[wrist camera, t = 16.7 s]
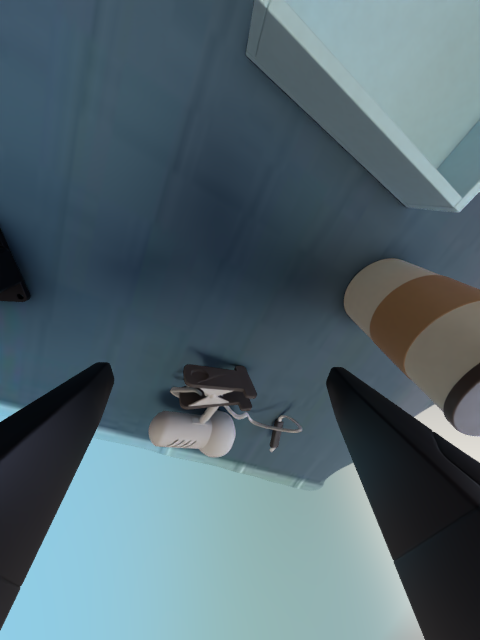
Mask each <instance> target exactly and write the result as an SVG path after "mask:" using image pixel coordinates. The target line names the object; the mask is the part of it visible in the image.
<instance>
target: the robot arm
mask: <svg viewBox="0 0 480 640" xmlns="http://www.w3.org/2000/svg"><path fill="white" fill-rule="evenodd" d="M21 295H23V296H21ZM30 297H31V296H30V293H29V291H28V289H27V287H26V284H25V282H24V280H23V278H22V276H21V273H20V271H19V269H18V267H17V265H16V262H15V260H14V258H13V256H12V253H11V251H10V249H9V247H8V245H7V242H6V240H5V238H4V236H3V233H2V231H1V229H0V301H15V302H25V301H27V300H29V299H30ZM113 384H114V376H113V372H112V369H111V366H110V364H109V363H107V362H98V363H95V364H93V365H92V366H90V367H89V368H87V369H85V370H84V371H82V372H80V373H79V374H77V375H76V376H74V377H72V378H71V379H69V380H68V381H66V382H64V383H63V384H61V385H59V386H58V387H56V388H55V389H53V390H51V391H50V392H48V393H47V394H45V395H43V396H42V397H40V398H38V399H37V400H35V401H34V402H32V403H30V404H29V405H27V406H26V407H24V408H22V409H21V410H19V411H17V412H16V413H14V414H13V415H11V416H9V417H8V418H6V419H5V420H3V421H1V422H0V630H1V628H2V626H3V624H4V622H5V619H6V618H7V615H8V613H9V611H10V609H11V607H12V605H13V603H14V601H15V599H16V596H17V594H18V592H19V590H20V586H21V585H22V584H23V582H24V579H25V577H26V575H27V573H28V571H29V569H30V567H31V565H32V563H33V561H34V559H35V557H36V554H37V552H38V550H39V548H40V546H41V544H42V542H43V540H44V538H45V536H46V534H47V531H48V529H49V527H50V525H51V523H52V521H53V519H54V517H55V515H56V513H57V510H58V508H59V506H60V504H61V502H62V500H63V498H64V496H65V494H66V492H67V490H68V488H69V485H70V483H71V481H72V479H73V477H74V475H75V473H76V471H77V469H78V467H79V465H80V463H81V461H82V459H83V456H84V454H85V452H86V450H87V448H88V446H89V444H90V442H91V440H92V438H93V436H94V433H95V431H96V429H97V427H98V425H99V423H100V420H101V418H102V415H103V412H104V410H105V407H106V404H107V401H108V398H109V395H110V393H111V390H112V387H113ZM326 386H327V389H328V393H329V396H330V400H331V403H332V407H333V410H334V414H335V417H336V420H337V423H338V425H339V428H340V430H341V433H342V435H343V438H344V440H345V443H346V445H347V448H348V450H349V453H350V455H351V457H352V460H353V462H354V465H355V467H356V470H357V472H358V475H359V477H360V480H361V482H362V484H363V487H364V490H365V492H366V494H367V497H368V499H369V502H370V504H371V507H372V509H373V512H374V514H375V517H376V519H377V522H378V524H379V527H380V529H381V531H382V534H383V537H384V539H385V541H386V544H387V546H388V549H389V551H390V554H391V556H392V559H393V560H394V564H395V567H396V569H397V571H398V574H399V577H400V579H401V581H402V584H403V586H404V589H405V591H406V594H407V596H408V599H409V601H410V604H411V606H412V609H413V611H414V613H415V616H416V619H417V621H418V623H419V626H420V628H421V631H422V633H423V636H424V638H425V640H480V463H479V462H478V461H476V460H475V459H473V458H471V457H470V456H469V455H467V454H465V453H464V452H462V451H461V450H460V449H458V448H457V447H455V446H454V445H452V444H451V443H449V442H448V441H446V440H445V439H444V438H442V437H441V436H439V435H438V434H437V433H435V432H432V430H431V429H429V428H428V427H427V426H425V425H424V424H422V423H421V422H420V421H418V420H417V419H415V418H414V417H412V416H411V415H410V414H408V413H407V412H405V411H404V410H402V409H401V408H400V407H398V406H397V405H395V404H394V403H393V402H391V401H390V400H388V399H387V398H385V397H384V396H383V395H381V394H380V393H378V392H377V391H376V390H374V389H373V388H371V387H370V386H368V385H367V384H366V383H364V382H363V381H361V380H360V379H359V378H357V377H356V376H354V375H353V374H351V373H350V372H349V371H347V370H346V369H344V368H342V367H333V368H332V369H331V371H330V373H329V376H328V378H327V381H326Z"/></svg>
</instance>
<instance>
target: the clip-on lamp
mask: <svg viewBox="0 0 480 640" xmlns="http://www.w3.org/2000/svg"><path fill="white" fill-rule="evenodd" d="M183 374H184V382H185V384H186V385H187V386H184V387H172V389H171V390H170V392H171V393H172V394H173V395H175V396H176V397H178V398H179V402H180V406H181V408H183V409H187V410H188V409H198V408H207V409H206V410H205V412H204V413H203V414H202V415H196V414H188V413H179V412H171V411H163V412H160V413H159V414H157V415H156V416H155V417H154V418H153V420H152V422H151V424H150V426H149V437H150V440H151V442H152V443H153V444H154V445H155V446H159V447H177V448H194V449H200V451H201V452H202V453H204V454H205V455H207V456H209V457H221V456H223V455H225V454H226V453H228V452H229V450H230V449H231V447H232V444H233V442H234V439H235V435H236V433H235V427H234V422H233V420H232V418H231V417H230V415H228V414H227V413H225V412H222V411H218V410H217V409H218V408H219V406H224V407H225V408H226V409H227V410H228V412H229V413H230V414H231V415H232V416H233V417H235V418H236V419H243V418H245V417H248V419H249V420H250V421H251V422H252V423H253V424H255V425H258V426H261V427H264V428H268V429H272V430H273V433H272V437H271V442H270V447H271V449H270V451H271V452H273V450H274V449H275V448H277V447H278V445H279V440H280V436H281V431H283V432H293V433H297V432H301V431H302V427H301V425H300V424H299V423H298V422H297V421H295V420H294V419H293V418H291V417H289V416H284V415H281V416H280V417H279V418H278V421H275V423H274V426H269V425H265V424H262V423H259V422H256V421H254V420H252V419H251V418H250V416H249V414H248V413H247V412H245V413H243V414H241V415H238V414H236V413H234V412H233V411H232V410H231V408H230V407H229V405H239V408H240V410H241V411H250V410H251V408H252V404H251V402H250V399H254V398H256V396H257V393H256V390H255V388H254V386H253V384H252V381H251V379H250V377H249V375H248V372H247V370H246V368H245V367H243V366H236V367H235V369H234V370H228V369H220V368H213V367H206V366H198V365H191V364H189V365H186V366H185V367H184V370H183ZM284 417H286V418H288V419H290V420H292V421H293V422H294V423H295V424H296V425H297V426H298V427H299V429H295V430H294V429H285V428H282V427H283V422H282V421H281V420H282V418H284Z"/></svg>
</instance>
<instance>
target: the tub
mask: <svg viewBox="0 0 480 640" xmlns="http://www.w3.org/2000/svg"><path fill="white" fill-rule="evenodd" d="M246 56H247V57H248V58H249V59H250V60H251V61H252V62H253V63H255V64H256V65H257V66H258V67H259V68H260V69H261V70H262V71H263V72H264V73H265V74H266V75H267V76H268V77H269V78H270V79H271V80H273V81H274V82H275V83H276V84H277V85H278V86H279V87H280V88H281V89H282V90H283V91H284V92H285V93H286V94H287V95H288V96H289V97H290V98H292V99H293V100H294V101H295V102H296V103H297V104H298V105H299V106H300V107H301V108H302V109H303V110H304V111H305V112H306V113H307V114H308V115H310V116H311V117H312V118H313V119H314V120H315V121H316V122H317V123H318V124H319V125H320V126H321V127H322V128H323V129H324V130H325V131H326V132H327V133H329V134H330V135H331V136H332V137H333V138H334V139H335V140H336V141H337V142H338V143H339V144H340V145H341V146H342V147H343V148H344V149H345V150H346V151H348V152H349V153H350V154H351V155H352V156H353V157H354V158H355V159H356V160H357V161H358V162H359V163H360V164H361V165H362V166H363V167H364V168H366V169H367V170H368V171H369V172H370V173H371V174H372V175H373V176H374V177H375V178H376V179H377V180H378V181H379V182H380V183H381V184H382V185H383V186H385V187H386V188H387V189H388V190H389V191H390V192H391V193H392V194H393V195H394V196H395V197H396V198H397V199H398V200H399V201H400V202H401V203H403V204H404V205H405V206H406V207H407V208H417V209H427V210H438V211H448V212H460V211H461V210H462V209H463V208H464V207H465V206H466V205H467V204H468V203H469V202H470V201H471V200H472V199H473V198H474V197H475V196H476V195H477V194H478V193H479V192H480V0H254V5H253V12H252V18H251V24H250V31H249V37H248V44H247V50H246Z"/></svg>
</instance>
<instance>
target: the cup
mask: <svg viewBox="0 0 480 640" xmlns="http://www.w3.org/2000/svg"><path fill="white" fill-rule="evenodd" d="M344 308H345V311H346V313H347V314H348V316H349V317H350V318H351V319H352V320H353V321H354V322H355V323H356V324H357V325H358V326H359V327H360V328H361V329H362V330H363V331H364V332H365V333H366V334H367V335H368V336H369V337H370V338H371V339H372V340H373V342H374V343H375V344H376V345H377V346H378V347H379V348H380V349H381V350H382V351H383V352H384V353H385V354H386V355H387V356H388V357H389V358H390V359H391V361H392V362H393V363H394V364H395V365H396V366H397V367H398V368H399V369H400V370H401V371H402V372H403V373H404V374H405V375H406V376H407V377H408V378H409V379H411V380H412V381H413V382H414V383H415V384H416V385H417V386H418V387H419V388H420V389H421V390H422V391H423V392H424V393H425V394H426V395H427V396H428V397H429V398H430V399H431V400H432V401H433V402H434V403H435V404H436V405H437V406H438V407H439V408H440V409H441V410H442V411H443V412H444V415H445V417H446V419H447V420H448V421H449V422H450V423H451V424H452V425H453V427H454V428H455V429H456V430H458V431H459V432H461V433H464V434H467V435H471V436H480V290H479V289H477V288H474V287H472V286H469V285H466V284H464V283H461V282H459V281H456V280H454V279H451V278H449V277H446V276H442V275H439V274H436V273H434V272H431V271H429V270H426V269H424V268H421V267H418V266H416V265H413V264H411V263H408V262H406V261H403V260H400V259H394V258H390V259H383V260H380V261H377V262H374V263H372V264H370V265H368V266H367V267H365V268H364V269H362V270H361V271H360V272H359V273H358V274H357V275H356V276H355V277H354V278H353V279H352V281H351V282H350V284H349V285H348V287H347V290H346V292H345V296H344Z"/></svg>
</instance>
